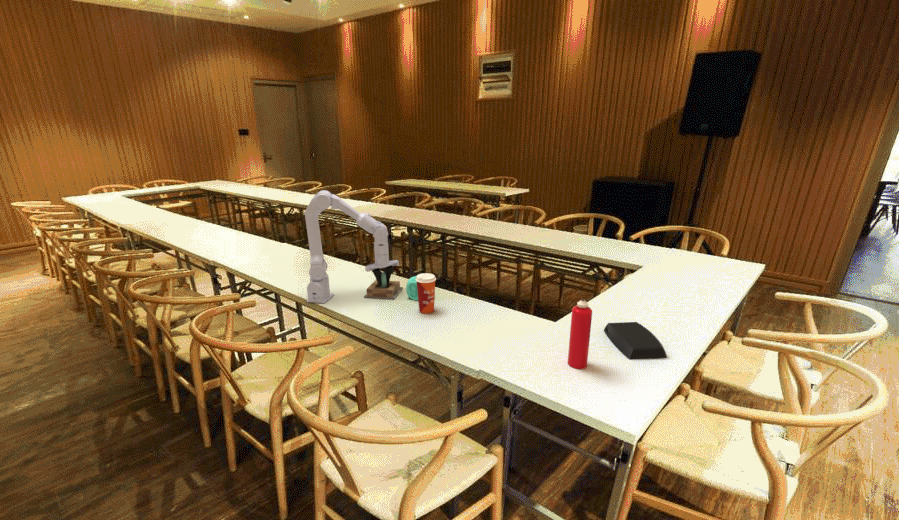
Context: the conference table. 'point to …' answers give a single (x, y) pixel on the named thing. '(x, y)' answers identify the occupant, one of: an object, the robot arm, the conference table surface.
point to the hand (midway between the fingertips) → (383, 284)
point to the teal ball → (412, 288)
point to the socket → (384, 290)
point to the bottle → (579, 335)
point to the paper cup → (426, 292)
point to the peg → (383, 280)
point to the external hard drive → (634, 341)
